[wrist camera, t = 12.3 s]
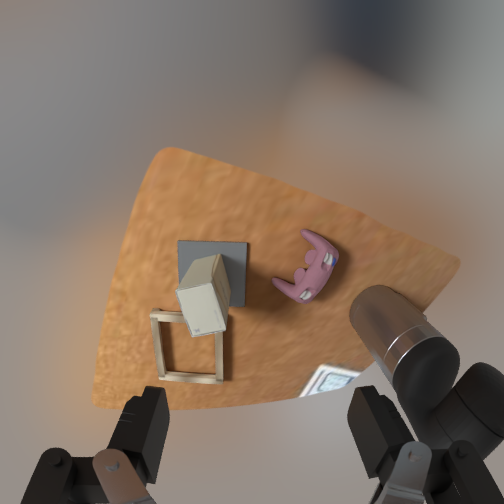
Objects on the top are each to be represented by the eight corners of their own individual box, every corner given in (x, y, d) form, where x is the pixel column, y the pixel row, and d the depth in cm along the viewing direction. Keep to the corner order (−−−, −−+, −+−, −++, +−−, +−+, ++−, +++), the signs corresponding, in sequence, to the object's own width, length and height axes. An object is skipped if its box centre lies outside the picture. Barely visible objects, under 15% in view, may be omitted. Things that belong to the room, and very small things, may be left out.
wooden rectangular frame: (223, 311, 46) (222, 317, 44) (223, 377, 49) (223, 384, 47) (153, 308, 45) (149, 313, 43) (161, 372, 49) (159, 379, 47)
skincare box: (231, 290, 44) (228, 332, 33) (203, 297, 44) (191, 339, 33) (220, 251, 43) (212, 282, 31) (191, 258, 43) (173, 290, 31)
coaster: (246, 242, 43) (246, 243, 42) (244, 305, 46) (244, 306, 45) (178, 240, 43) (177, 241, 42) (180, 302, 45) (180, 304, 45)
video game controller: (287, 287, 47) (312, 313, 41) (266, 281, 44) (291, 308, 39) (320, 234, 45) (350, 255, 39) (300, 224, 42) (331, 244, 37)
